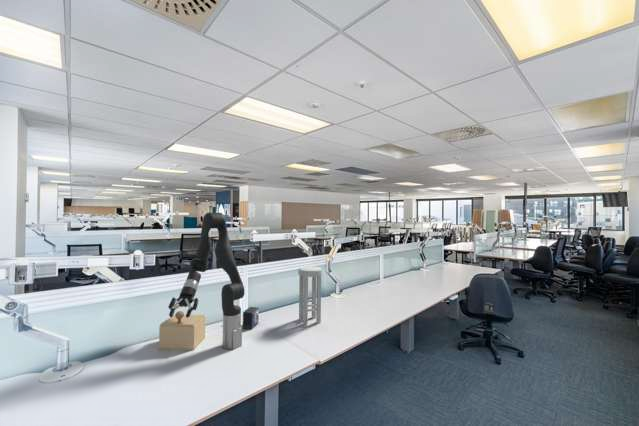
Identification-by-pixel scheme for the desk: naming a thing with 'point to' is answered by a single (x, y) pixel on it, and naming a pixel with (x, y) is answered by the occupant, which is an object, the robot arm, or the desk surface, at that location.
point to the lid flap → (182, 320)
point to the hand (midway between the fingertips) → (178, 316)
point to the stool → (303, 306)
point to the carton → (181, 336)
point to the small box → (250, 318)
